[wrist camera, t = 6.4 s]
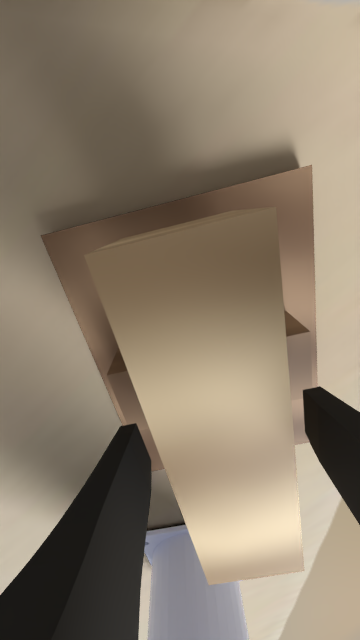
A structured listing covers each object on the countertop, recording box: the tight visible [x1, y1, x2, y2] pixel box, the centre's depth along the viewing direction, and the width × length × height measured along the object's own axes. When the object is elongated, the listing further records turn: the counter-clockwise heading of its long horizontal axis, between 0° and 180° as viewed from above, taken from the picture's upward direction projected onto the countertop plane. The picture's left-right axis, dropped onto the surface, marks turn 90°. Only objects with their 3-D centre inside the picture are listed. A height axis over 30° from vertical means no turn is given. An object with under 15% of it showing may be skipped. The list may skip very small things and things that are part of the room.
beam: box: [84, 207, 304, 585], centre depth 10 cm, size 14×4×4 cm, turn 13°
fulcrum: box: [41, 165, 318, 471], centre depth 13 cm, size 16×12×4 cm
